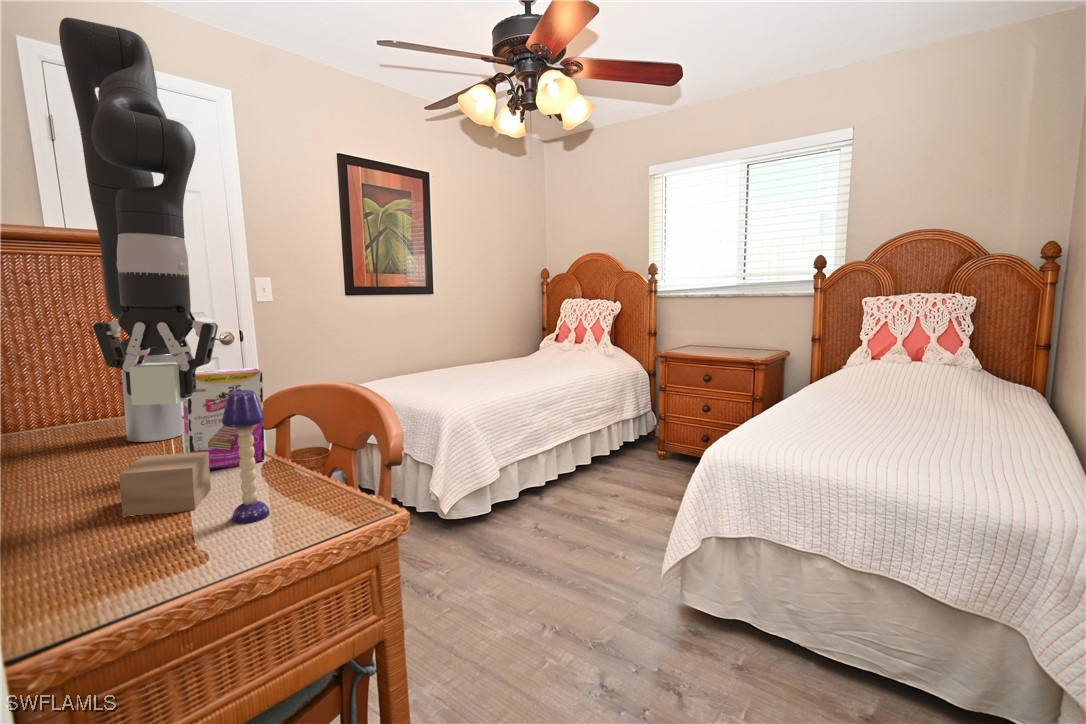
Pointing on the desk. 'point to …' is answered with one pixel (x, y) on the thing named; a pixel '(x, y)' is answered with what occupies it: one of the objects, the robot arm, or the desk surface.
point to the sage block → (155, 384)
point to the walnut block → (165, 483)
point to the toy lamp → (246, 451)
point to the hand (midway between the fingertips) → (162, 397)
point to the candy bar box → (220, 416)
